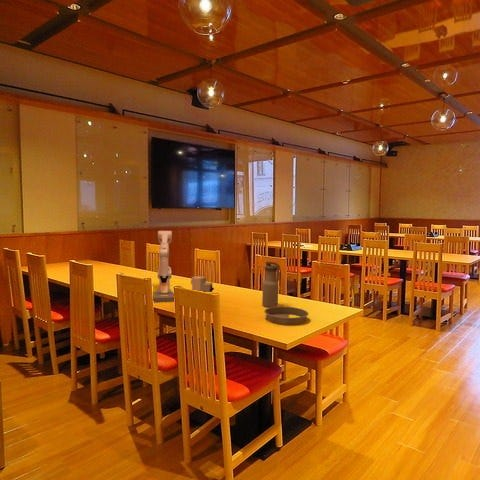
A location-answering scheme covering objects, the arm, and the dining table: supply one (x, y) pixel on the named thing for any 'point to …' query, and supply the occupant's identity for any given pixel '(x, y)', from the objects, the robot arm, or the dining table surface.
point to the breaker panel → (163, 296)
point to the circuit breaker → (201, 284)
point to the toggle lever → (164, 288)
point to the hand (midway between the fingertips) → (163, 286)
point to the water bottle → (271, 285)
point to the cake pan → (285, 315)
